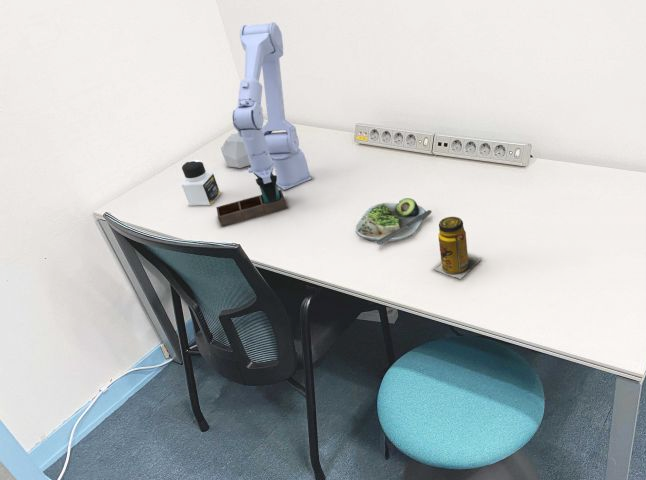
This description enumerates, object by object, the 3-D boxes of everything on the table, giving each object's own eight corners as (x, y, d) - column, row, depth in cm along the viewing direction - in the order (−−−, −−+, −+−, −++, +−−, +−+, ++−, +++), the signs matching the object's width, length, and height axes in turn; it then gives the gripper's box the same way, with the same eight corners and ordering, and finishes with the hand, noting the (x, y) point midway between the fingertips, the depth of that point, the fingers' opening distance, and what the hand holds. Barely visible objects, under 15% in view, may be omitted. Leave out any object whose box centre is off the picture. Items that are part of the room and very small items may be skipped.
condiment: (434, 270, 138) (428, 225, 131) (455, 251, 143) (451, 207, 135) (460, 279, 134) (456, 234, 127) (481, 260, 139) (478, 215, 131)
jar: (277, 196, 174) (269, 171, 169) (283, 202, 171) (276, 176, 166) (262, 202, 173) (254, 177, 168) (269, 208, 170) (261, 182, 165)
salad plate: (410, 253, 145) (408, 237, 142) (344, 246, 151) (340, 230, 148) (436, 211, 158) (434, 195, 156) (374, 206, 165) (371, 191, 162)
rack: (283, 198, 176) (281, 189, 174) (287, 208, 171) (284, 199, 169) (219, 216, 173) (216, 207, 171) (221, 226, 168) (218, 217, 166)
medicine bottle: (210, 205, 179) (196, 168, 171) (189, 206, 180) (174, 169, 173) (220, 193, 184) (207, 157, 177) (199, 194, 186) (185, 158, 178)
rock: (228, 151, 209) (219, 124, 203) (285, 141, 209) (278, 114, 203) (222, 174, 194) (212, 146, 188) (283, 163, 195) (275, 135, 189)
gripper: (239, 144, 167) (253, 188, 176) (246, 165, 156) (260, 211, 164) (264, 138, 168) (277, 182, 177) (272, 158, 157) (286, 204, 166)
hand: (271, 195), depth 171 cm, fingers closed on jar, 4 cm apart
